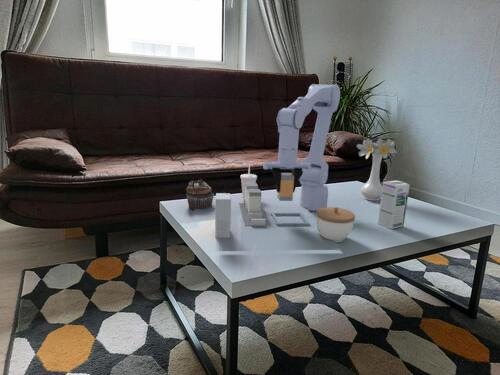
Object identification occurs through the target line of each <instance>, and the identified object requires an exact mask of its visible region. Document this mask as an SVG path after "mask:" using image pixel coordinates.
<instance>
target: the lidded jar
mask: <svg viewBox="0 0 500 375" xmlns="http://www.w3.org/2000/svg"><path fill="white" fill-rule="evenodd" d="M354 213H355V212H354ZM354 213H353V212H352V211H351V210H347V209H344V208H340V207H337V206H334V207H332V206H329V207H325V208H320V209H318V210H317V211H316V214H315V216H316V217H315V218H316V220H315V224H316V229H317V232H318V234H320V236H321V237H322V238H324V239H327V240H330V241H334V242H335V243H341V242H344V241H345V239H347V238H348V237H349V236H350V235H351V233H352V231H353V228H354V223H355V218H356V215H355V214H354Z"/></svg>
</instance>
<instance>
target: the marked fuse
mask: <svg viewBox="0 0 500 375" xmlns="http://www.w3.org/2000/svg"><path fill="white" fill-rule="evenodd" d="M293 186H294V175H293V174H292V172H281V180H280V192H277V199H278V201H280V202H293V198H294V193H293Z"/></svg>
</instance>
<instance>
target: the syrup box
mask: <svg viewBox="0 0 500 375" xmlns="http://www.w3.org/2000/svg"><path fill="white" fill-rule="evenodd" d="M410 185H411V184H410V183H407V182H405V181H401V180H390V181H383V182H382V186H383V187H382V195H381V198H380V205H379V212H378V217H377V218H378V220H377V224H378V225H380V226H383V227H384V228H388V229H390V230H393V229H398V228H404V225H405V218H406V213H407V212H406V210H407V205H408V200H409V199H408V198H409V194H410V193H409V191H410V187H411V186H410Z"/></svg>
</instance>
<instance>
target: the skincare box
mask: <svg viewBox="0 0 500 375" xmlns="http://www.w3.org/2000/svg"><path fill="white" fill-rule="evenodd" d="M231 196H232V195H231V193H229V192H228V193H225V192H223V193H222V192H220V193H218V192H216V194H215V208H214V209H215V210H214V211H215V213H214V214H215V220H214V221H215V222H214V224H215V228H214V230H215V233H214V235H215V238H216V239H217V238H221V239H227V238H231V216H232V215H231V213H232V212H231V211H232V198H231Z"/></svg>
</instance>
